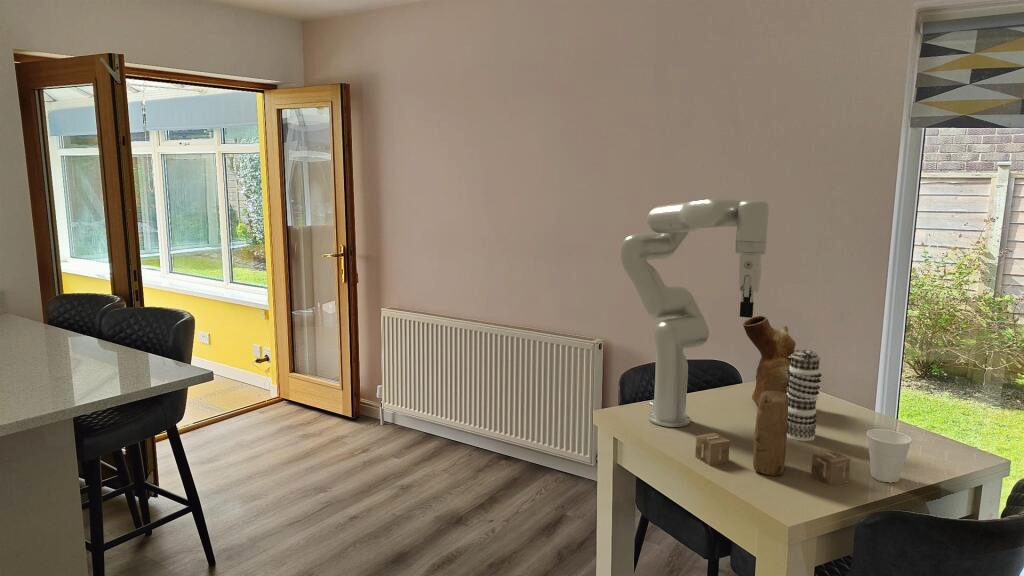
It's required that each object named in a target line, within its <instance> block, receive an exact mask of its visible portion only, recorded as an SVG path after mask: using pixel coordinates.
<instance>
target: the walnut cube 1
mask: <svg viewBox="0 0 1024 576" xmlns="http://www.w3.org/2000/svg"><path fill="white" fill-rule="evenodd" d="M695 438H696V439H695V454H694V456H695V458H697V459H698V460H700V461H701V462H702V463H704V464H706V465H708V466H710V467H711V466H716V465H721V464H727V463H730V461H729V459H730V446H731V445H730V443H731V440H729V439H727V438H725V437H723V436H722V435H720V434H718V433H716V432H713V433H705V434H700V435H696V436H695Z"/></svg>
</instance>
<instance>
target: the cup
mask: <svg viewBox="0 0 1024 576" xmlns="http://www.w3.org/2000/svg"><path fill="white" fill-rule="evenodd" d="M866 436H867V443H868V454H869V455H868V456H869V464H870V475H871V477H873V479H874V480H876V481H879V482H881V481H882V483H885V482H889V483H888V484H893V483H892V482H895V483H897V482H899V481H900V480H901V479H900V478H901V476H902V472H903V468H904V466H905V461H906V459H907V455H908V452H909V450H910V446H911V444H912V442H913V439H912V438H911V437H910V436H909V435H907V434H905V433H902V432H901V431H900V432H899V431H895V430H891V429H883V428H881V429H880V428H879V429H878V428H875V429H869V430H867V431H866Z"/></svg>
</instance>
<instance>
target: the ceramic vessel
mask: <svg viewBox="0 0 1024 576" xmlns="http://www.w3.org/2000/svg"><path fill="white" fill-rule="evenodd" d="M742 326H743V328H744V332H745V333H746V335H747V337H748V339H749V340H750V341H751V343H752V344H753V345H754V347H755V348H757V350H758V351H759V353H760V356H761V358H760V360H759V362H758V365H757V368H756V375H755V382H756V383H755V386H754V387H755V388H754V390H753V393H752V395H751V399H752V401H753V402H754V403H755V405H756V406H758V404H759V399H760V396H761V393H762V392H764V391H779V392H784V393H786V394H787V391H786V389H787V387H788V386H787V383H786V382H787V381H788V380H787V378H786V377H787V375H789V374H787V369H788V368H789V367H790V364H791V356H790V354H793V353H794V351H796V350H795V347H796V345H797V343H796V341H795V339H793V338H792V337H791V336H790V334H789V328H788V326H787V325H784V326H783V327H782V328H774V327H772V326H771V324H770V321H769V319H768V318H767V316H765V315H757V316H752V318H747V319H745V320H744V321H743V323H742Z"/></svg>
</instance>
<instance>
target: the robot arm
mask: <svg viewBox="0 0 1024 576" xmlns="http://www.w3.org/2000/svg"><path fill="white" fill-rule="evenodd" d="M769 207H770V205H769V203H768V202H767V201H765V200H759V199H758V200H757V199H751V200H749V199H743V198H709V199H707V198H706V199H702V200H701V199H700V200H693V201H686V202H678V203H671V204H662V205H659V206H656V207H653V208H652V209H651V210H650V211H649V212H648V214H647V217H646V223H647V225H648V228H649V229H650V230H652V232H639V233H633V234H631V235H629V236H627V237H625V239H624V240H623V241H622V244H621V246H620V252H619V253H620V261H621V265H622V267H623V269H624V271H625V273H626V274H627V276H628V277H629V279H630V281H631V282H632V284H633V285H634V288H635V291H636V292H637V294H638V296H639V298H640V300H641V303H642V305H643V307H644V310H645V312H646V313H647V314H648V316H649V318H650V317H651V318H652V319H655V320H656V319H657V320H659V319H660V320H661V319H663V320H662V321H660V322H659V323H657V324H656V326H655V328H654V330H653V342H654V348H655V371H654V373H655V375H654V394H653V395H654V397H653V398H654V400H653V401H650V402H649V406H650V407H652V411H651V412H649V413H648V416H647V418H648V419H647V420H649V422H651V423H653V424H655V425H657V426H661V427H665V428H666V427H667V428H680V427H681V428H682V427H685V426H688V425H690V424H691V417H690V416H689V415H688V414H686V413H687V412H686V411H687V409H686V408H687V394H688V393H687V391H688V375H689V373H688V372H689V365H688V359H687V358H686V356H685V353H684V350H687V349H692V348H694V349H695V348H698V347H701V346H704V345H705V344H706V343H707V341H708V339H709V335H710V331H709V327H708V324H707V321H706V319H705V318H704V315H703V314H702V311H701V310H700V308H699V305H698V303H697V302H696V300H695V297H694V296H693V295H692V293H691V292H690V291H689V289H687V288H685V287H683V286H677V285H676V286H667V285H666V284H665V282H664V281H663V278H662V277H661V275H660V273H659V272H658V270H657V269H656V268H655V267H654V266H653V265H651V264H650V262H648V261H654V260H664V259H668V258H670V257H671V256H673V255H674V254H675V253H676V251H677V250H678V249H679V248H680V247H681V245H682V242H683V241H684V239H685V238H686V237H687V236H688V234H689V233H690V232H695V231H696V230H698V229H706V228H707V229H708V228H726V227H727V228H730V227H731V228H733V227H736V234H735V235H736V236H735V250H734V251H735V254H738V255H739V263H738V291H739V292H741V300H740V303H739V305H740V306H739V317H740V318H747V319H749V318H752V317H754V316H753V315H754V292H755V293H759V291H760V289H761V276H762V255H766V254H767V238H768V237H767V236H768V225H769V224H768V221H769V211H770V209H769Z"/></svg>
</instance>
